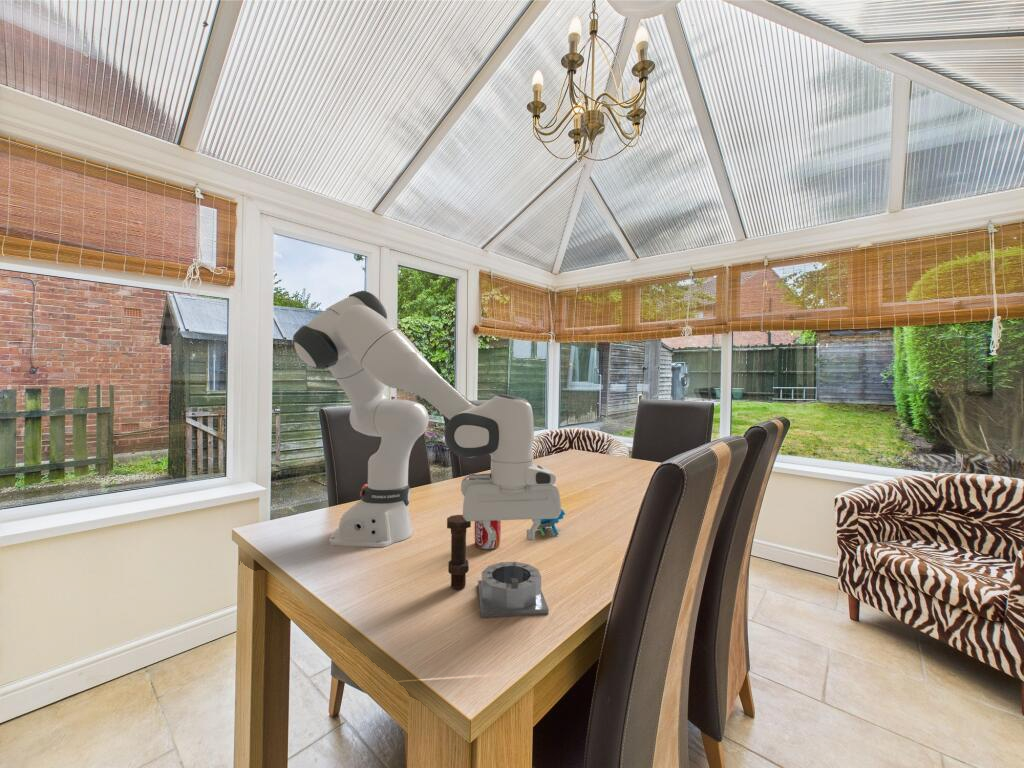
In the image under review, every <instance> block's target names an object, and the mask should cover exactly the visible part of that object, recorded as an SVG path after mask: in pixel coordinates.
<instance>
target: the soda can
mask: <svg viewBox="0 0 1024 768" xmlns="http://www.w3.org/2000/svg"><path fill="white" fill-rule="evenodd" d="M501 522H502V520H491V521H490V526H489V527H490V529H491V531H495V532H496V537H495V538H496V541H495V542H489V541H488V533H487V531H486V529H485V527H484V525H483V521H474V544H475V546H476V547H477V548H479V549H482V550H493V549H495V548H497V547H499V546H500V544H501V530H502V529H501V527H502V525H501Z"/></svg>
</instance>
